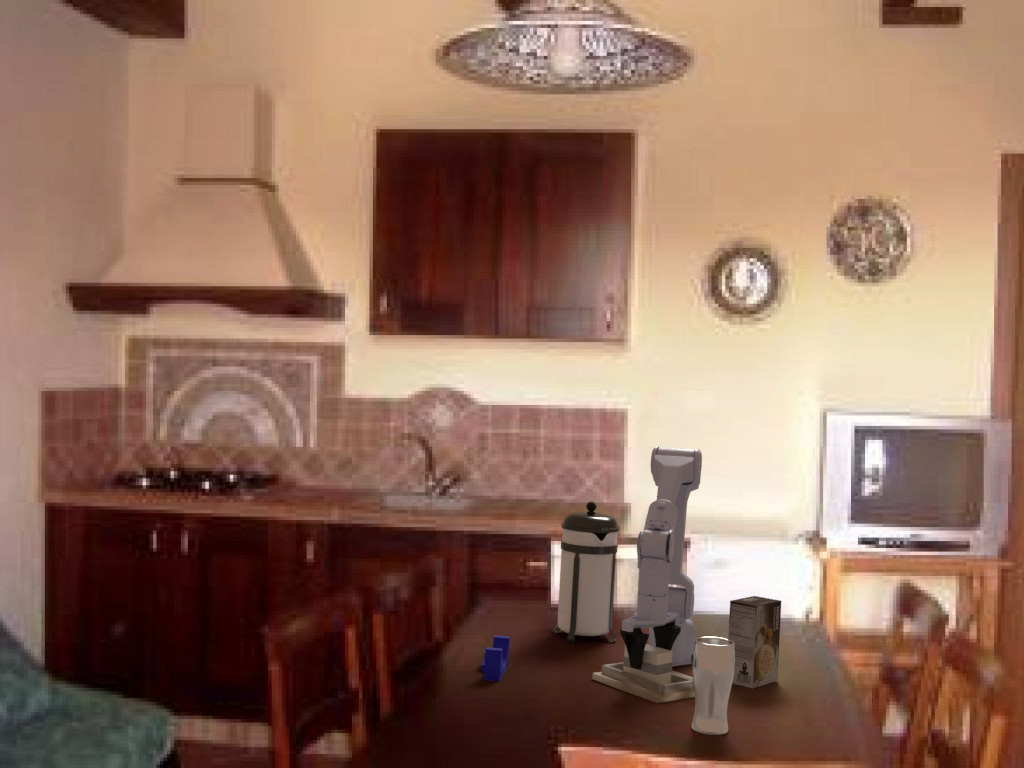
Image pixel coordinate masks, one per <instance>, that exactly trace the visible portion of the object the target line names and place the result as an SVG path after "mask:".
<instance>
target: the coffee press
mask: <svg viewBox="0 0 1024 768" xmlns="http://www.w3.org/2000/svg"><path fill="white" fill-rule="evenodd" d="M585 507H586V510H587V511H577V512H572V513H569V514H568V515H566V516H565V517H564V518H563V522H561V523H560V524H561V525H560V528H561V529H562V537H561V541H560V549H561V553H560V555H561V556H560V557H561V558H560V570H559V571H560V572H559V573H560V574H559V588H558V589H559V590H558V605H557V606H558V607H557V609H558V610H557V622H555V625H554V626H553V627H552V631H553V633H554V634H558V633H560V632H562V631H563V632H564V633H567V638H566V640H567V641H566V642H567V643H571V644H575V642H576V641H577V638H578V637H579V636H583V637H595V636H597V637H598V636H601V637H604V638H605V639H606V641H608V642H609V643H613V642H615V641H617V636H616V634H615V632H614V630H613V616H614V615H613V614H614V613H613V611H614V601H615V600H614V596H615V594H614V593H615V580H616V578H615V576H616V566H617V565H616V563H617V553H618V546H619V543H618V533H619V531H620V526H619V525H618V522H617V520H616V518H614V517H613V516H611V515H609V514H607V513H602V512H595V511H596V509H597V504H596V503H595V502H594V501H589V502H587V503H586V506H585ZM557 627H558V628H559V629H560V630H557V629H556V628H557ZM609 633H610V635H611V636H612V638H613V640H612V639H611V638H610V636H609V635H608V634H609Z"/></svg>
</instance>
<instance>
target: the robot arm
mask: <svg viewBox="0 0 1024 768" xmlns="http://www.w3.org/2000/svg"><path fill="white" fill-rule="evenodd" d="M650 455H651V456H650V474H651V475H652V479H653V482H654V485H655V486H657V493H656V500H654V501H652V502H651V503H650V504H649V506H648V510H647V513H646V518H645V523H644V526H643V531H639V533H638V536H637V540H636V553H637V569H638V581H637V597H636V598H637V599H636V612H633V613H632V616H631V617H628V618H626V619H623V620H622V622H621V625H622V626H621V628H620V631H619V633H620V634H619V635H621V638H622V640H623V642H624V646H625V645H626V648H627V652H628V656H629V661H630V667H631V668H635V669H641V667H642V663H643V654H644V649H645V645H646V644H647V642H648V645H651V646H655V647H659V648H663V649H666V650H670V651H673V655H672V668H673V667H679V666H687V665H692V664H691V654H694V647H695V639H696V638H697V628H696V626H695V623H694V622H693V620H691V618H692V617H693V613H694V607H695V585H694V582H693V580H692V579H691V578H690V576H688V575H687V574H686V573H684V572H683V561H684V551H685V550H684V548H685V535H686V534H685V533H686V525H687V524H686V523H687V512H688V511H687V510H688V501H689V497H690V495H691V492H693V491H697V490H698V489H699V488H700V485H701V478H702V477H701V475H702V467H703V466H702V463H703V454H702V451H701V450H700V449H699V448H696V449H693V448H692V449H690V448H677V447H665V446H664V447H662V446H658V445H655V446H654V447H653V448H652V450H651V454H650ZM670 585H675V586H670ZM676 586H681V587H676ZM644 629H649V633H644V632H643V630H644Z"/></svg>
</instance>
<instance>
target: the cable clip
mask: <svg viewBox="0 0 1024 768" xmlns="http://www.w3.org/2000/svg"><path fill="white" fill-rule="evenodd" d="M510 639H511V637H510V636H509V635H508V636H507V635H506V636H505V635H504V636H503V635H496V634H495V635H494V636H493V644H492V647H486V648H485V652H484V653H483V659H482V663H481V664H480V665H481V666H480V672H483V681H490V682H501V681H502V680H501V679H502V678H503V676H504V675H505V673H506V671H507V669H508V668H507V667H509V660H510V641H511V640H510Z"/></svg>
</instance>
